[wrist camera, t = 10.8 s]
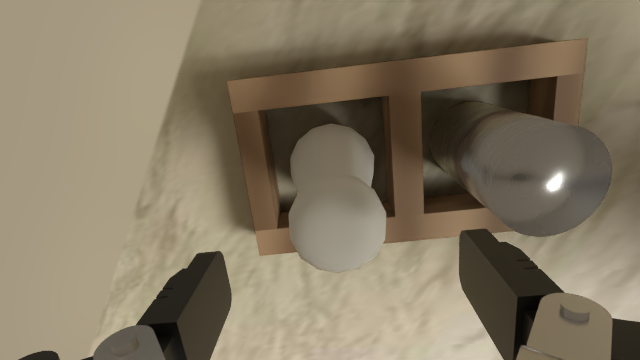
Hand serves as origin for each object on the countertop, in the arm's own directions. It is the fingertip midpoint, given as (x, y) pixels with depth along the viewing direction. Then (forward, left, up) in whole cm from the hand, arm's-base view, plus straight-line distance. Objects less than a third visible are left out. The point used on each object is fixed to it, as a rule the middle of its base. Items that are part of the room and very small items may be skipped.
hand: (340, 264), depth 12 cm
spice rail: (-5, 0, -16) cm, 16 cm away
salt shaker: (0, 0, -16) cm, 16 cm away
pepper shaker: (-10, 0, -16) cm, 19 cm away
